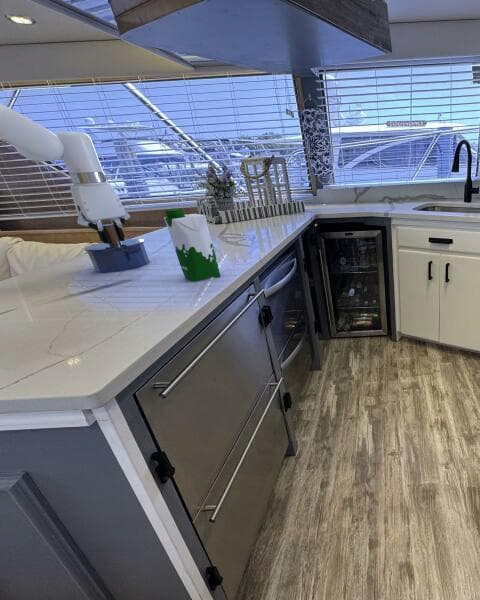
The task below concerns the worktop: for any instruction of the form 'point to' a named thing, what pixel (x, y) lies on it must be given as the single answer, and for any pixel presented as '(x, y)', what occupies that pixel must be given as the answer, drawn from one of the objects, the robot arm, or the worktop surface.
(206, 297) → the worktop surface
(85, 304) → the worktop surface
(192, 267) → the milk carton
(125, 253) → the pot
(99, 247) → the plate lid
